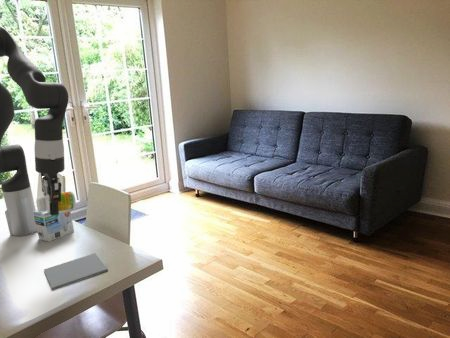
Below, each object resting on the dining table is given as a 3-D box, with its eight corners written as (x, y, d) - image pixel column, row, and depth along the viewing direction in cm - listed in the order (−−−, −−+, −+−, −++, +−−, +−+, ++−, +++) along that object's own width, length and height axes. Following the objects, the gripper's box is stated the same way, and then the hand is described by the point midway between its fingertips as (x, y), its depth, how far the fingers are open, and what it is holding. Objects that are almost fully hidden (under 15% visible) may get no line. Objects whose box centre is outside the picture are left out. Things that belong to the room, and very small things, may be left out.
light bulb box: (49, 242, 131) (43, 213, 128) (38, 239, 134) (31, 211, 131) (75, 230, 139) (69, 203, 137) (64, 227, 143) (58, 201, 140)
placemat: (52, 290, 100) (51, 288, 99) (44, 271, 110) (43, 269, 110) (107, 270, 108) (107, 268, 107) (95, 254, 118) (95, 253, 118)
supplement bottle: (77, 204, 109) (40, 209, 103) (73, 212, 113) (38, 217, 107) (73, 188, 111) (37, 192, 105) (69, 196, 115) (35, 200, 109)
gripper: (29, 150, 108) (32, 205, 112) (40, 161, 97) (43, 221, 101) (57, 149, 113) (59, 201, 117) (70, 159, 102) (72, 217, 106)
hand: (51, 210), depth 109 cm, fingers closed on supplement bottle, 5 cm apart
